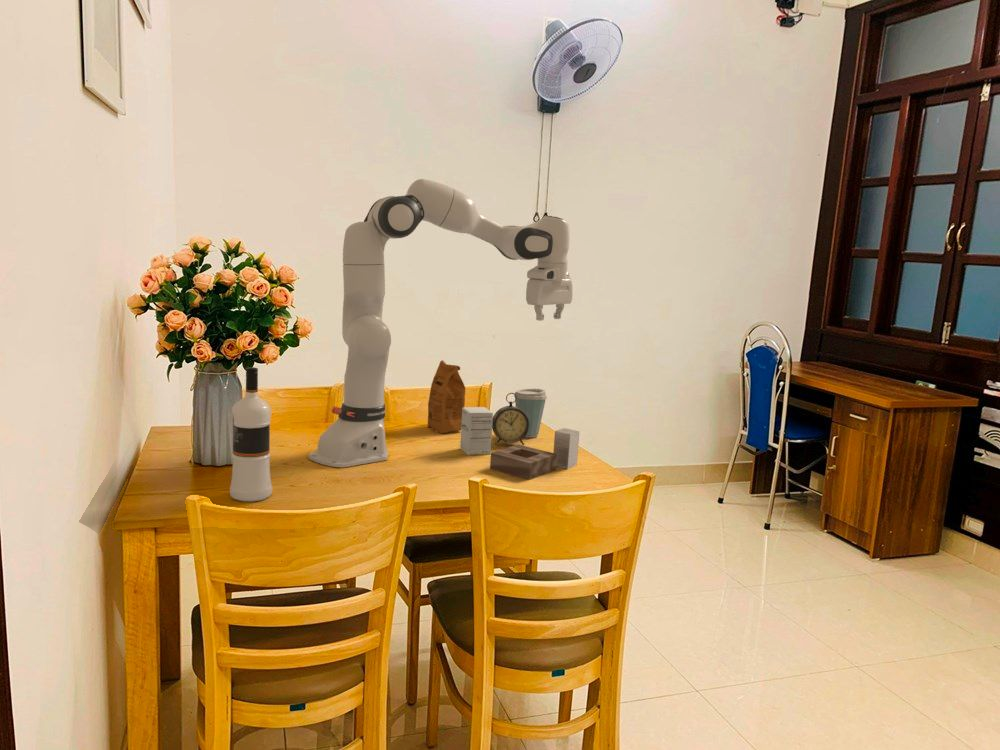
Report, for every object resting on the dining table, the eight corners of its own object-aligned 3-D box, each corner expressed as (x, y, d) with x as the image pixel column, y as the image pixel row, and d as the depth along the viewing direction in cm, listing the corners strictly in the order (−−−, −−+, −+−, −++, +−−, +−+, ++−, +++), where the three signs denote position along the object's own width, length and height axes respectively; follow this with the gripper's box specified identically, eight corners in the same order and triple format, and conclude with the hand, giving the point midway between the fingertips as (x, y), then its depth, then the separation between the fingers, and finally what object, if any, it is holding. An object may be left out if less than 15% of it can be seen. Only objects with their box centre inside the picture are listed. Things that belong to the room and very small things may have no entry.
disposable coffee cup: (515, 439, 239) (519, 393, 236) (507, 431, 249) (510, 386, 247) (548, 439, 242) (551, 393, 239) (538, 431, 252) (541, 386, 249)
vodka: (266, 503, 170) (268, 372, 165) (224, 502, 169) (224, 370, 164) (276, 490, 179) (277, 365, 174) (236, 488, 179) (236, 363, 173)
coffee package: (450, 423, 254) (453, 359, 251) (466, 432, 244) (470, 365, 240) (422, 425, 249) (425, 359, 246) (438, 435, 239) (442, 366, 235)
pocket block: (529, 479, 199) (530, 463, 198) (490, 468, 207) (490, 452, 206) (555, 469, 210) (557, 453, 209) (517, 459, 217) (518, 444, 216)
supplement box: (459, 448, 225) (461, 406, 223) (483, 447, 228) (485, 406, 225) (466, 455, 218) (469, 412, 216) (491, 454, 221) (493, 412, 219)
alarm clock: (492, 446, 229) (496, 394, 226) (489, 442, 234) (492, 390, 232) (527, 446, 232) (531, 394, 229) (523, 442, 237) (527, 391, 234)
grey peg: (567, 469, 211) (570, 434, 209) (552, 465, 214) (555, 430, 212) (576, 465, 215) (579, 431, 213) (561, 461, 218) (564, 428, 216)
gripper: (561, 272, 233) (558, 317, 236) (523, 271, 217) (520, 320, 219) (579, 273, 230) (575, 319, 232) (542, 273, 213) (538, 322, 216)
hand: (548, 319), depth 226 cm, fingers open, 8 cm apart
